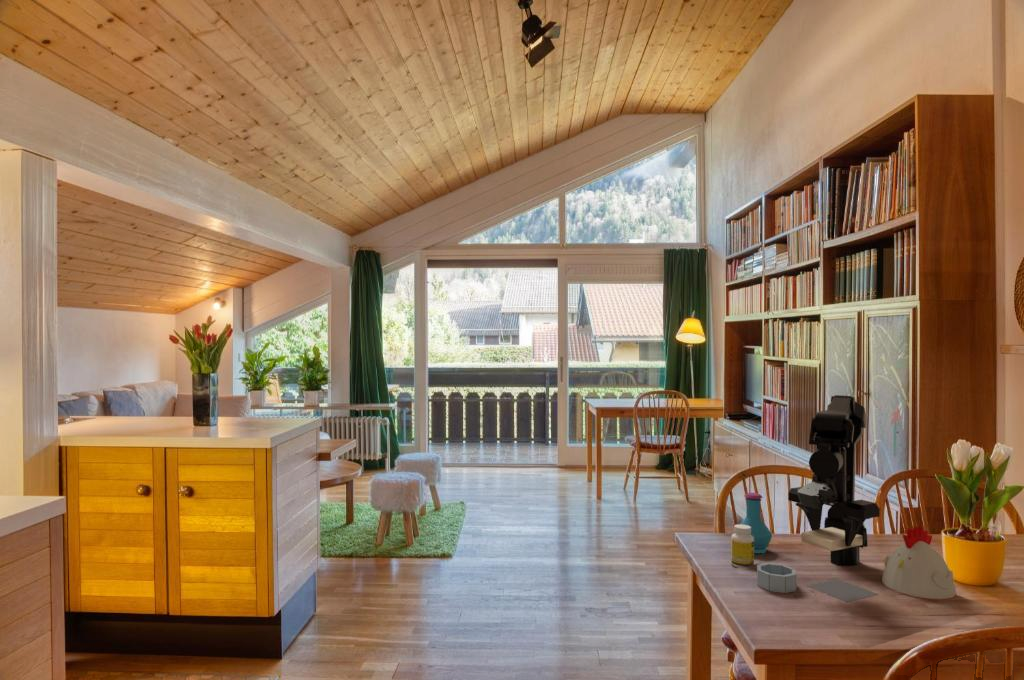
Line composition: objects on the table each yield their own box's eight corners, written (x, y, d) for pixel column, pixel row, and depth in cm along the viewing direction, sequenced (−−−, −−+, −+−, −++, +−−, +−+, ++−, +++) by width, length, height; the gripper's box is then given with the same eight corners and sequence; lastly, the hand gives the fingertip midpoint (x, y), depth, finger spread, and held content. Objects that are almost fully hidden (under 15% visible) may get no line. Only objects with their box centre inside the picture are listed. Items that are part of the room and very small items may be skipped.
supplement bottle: (755, 570, 155) (755, 530, 155) (732, 568, 156) (732, 528, 157) (752, 562, 161) (752, 524, 161) (729, 561, 162) (729, 522, 162)
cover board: (831, 535, 145) (831, 526, 145) (862, 544, 138) (862, 535, 138) (801, 541, 140) (801, 532, 140) (831, 551, 134) (831, 541, 134)
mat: (837, 585, 146) (837, 578, 146) (878, 601, 137) (878, 594, 137) (806, 592, 141) (806, 585, 141) (847, 609, 132) (847, 602, 132)
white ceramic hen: (868, 587, 145) (867, 521, 145) (910, 579, 150) (910, 515, 150) (926, 611, 132) (926, 538, 132) (971, 601, 137) (971, 532, 137)
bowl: (775, 583, 147) (775, 561, 147) (804, 595, 140) (803, 572, 140) (749, 588, 143) (749, 566, 144) (777, 601, 136) (777, 578, 136)
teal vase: (768, 557, 165) (768, 499, 165) (731, 551, 169) (731, 495, 170) (774, 547, 172) (774, 492, 172) (739, 542, 177) (739, 488, 177)
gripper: (771, 465, 144) (771, 534, 144) (845, 481, 128) (846, 559, 127) (804, 462, 149) (805, 528, 149) (881, 476, 133) (881, 551, 132)
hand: (831, 541), depth 139 cm, fingers closed on cover board, 7 cm apart
